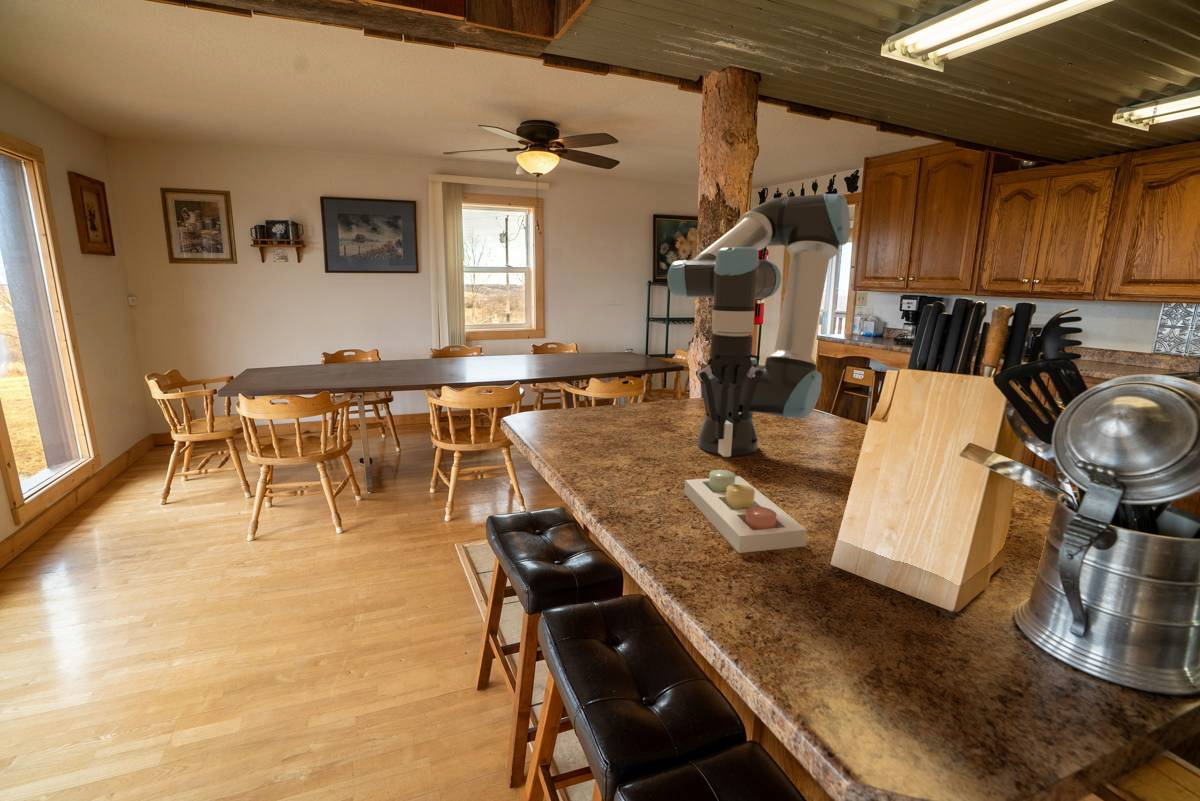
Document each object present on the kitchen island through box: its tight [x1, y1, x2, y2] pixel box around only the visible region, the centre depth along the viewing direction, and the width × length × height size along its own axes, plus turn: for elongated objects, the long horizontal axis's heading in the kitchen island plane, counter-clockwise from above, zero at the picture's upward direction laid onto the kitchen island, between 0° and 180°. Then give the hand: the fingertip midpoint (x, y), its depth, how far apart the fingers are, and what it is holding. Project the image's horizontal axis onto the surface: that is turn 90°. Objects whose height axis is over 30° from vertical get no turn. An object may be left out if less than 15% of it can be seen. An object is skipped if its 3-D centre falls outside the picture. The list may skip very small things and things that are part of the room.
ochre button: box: [726, 484, 755, 510], centre depth 102 cm, size 5×5×3 cm
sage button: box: [708, 469, 736, 493], centre depth 110 cm, size 5×5×3 cm
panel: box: [683, 475, 808, 554], centre depth 103 cm, size 12×25×3 cm, turn 12°
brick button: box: [745, 507, 777, 530], centre depth 95 cm, size 5×5×3 cm
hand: (724, 454), depth 108 cm, fingers closed
